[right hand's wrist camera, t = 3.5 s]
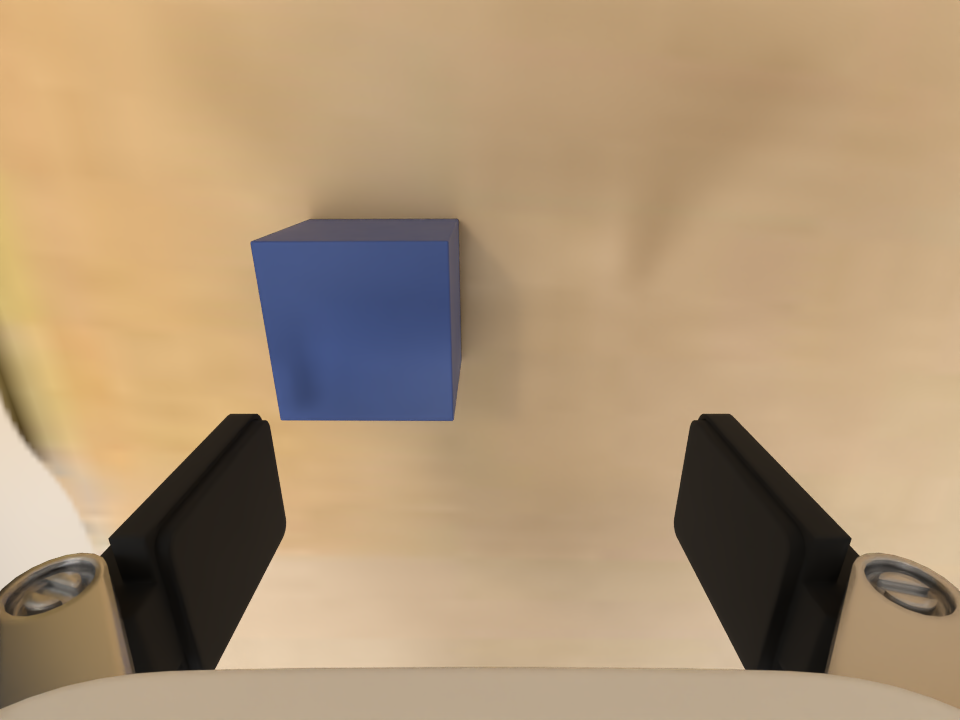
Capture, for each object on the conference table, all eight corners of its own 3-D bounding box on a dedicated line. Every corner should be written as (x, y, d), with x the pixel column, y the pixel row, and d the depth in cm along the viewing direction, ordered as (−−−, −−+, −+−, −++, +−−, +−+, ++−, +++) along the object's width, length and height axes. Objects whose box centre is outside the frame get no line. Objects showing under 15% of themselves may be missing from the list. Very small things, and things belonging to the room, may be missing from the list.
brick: (326, 361, 18) (280, 421, 14) (308, 219, 16) (249, 241, 12) (461, 361, 18) (453, 421, 14) (458, 218, 16) (448, 241, 12)
